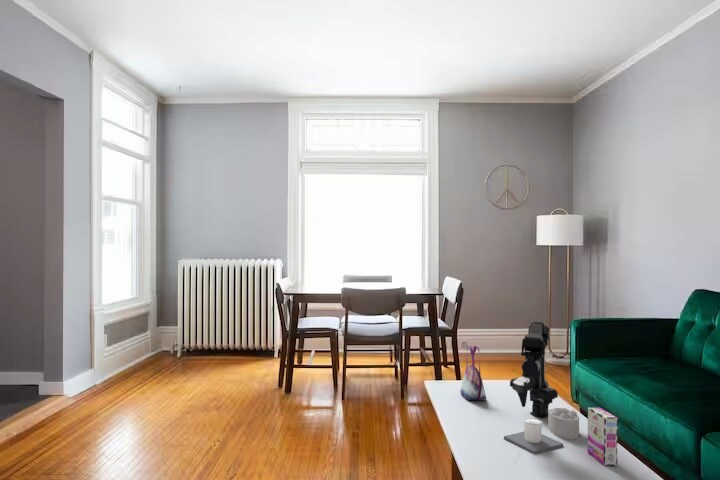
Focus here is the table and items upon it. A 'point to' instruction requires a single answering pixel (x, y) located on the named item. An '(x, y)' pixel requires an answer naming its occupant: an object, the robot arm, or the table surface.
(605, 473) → the table surface
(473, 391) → the handbag
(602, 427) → the candy bar box
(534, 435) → the shot glass
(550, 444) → the charcoal mat
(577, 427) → the lumpy-topped squat cylinder
